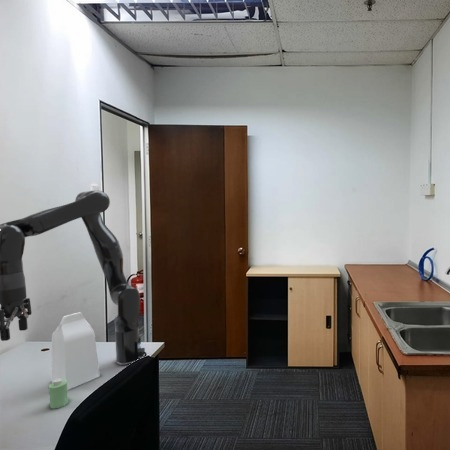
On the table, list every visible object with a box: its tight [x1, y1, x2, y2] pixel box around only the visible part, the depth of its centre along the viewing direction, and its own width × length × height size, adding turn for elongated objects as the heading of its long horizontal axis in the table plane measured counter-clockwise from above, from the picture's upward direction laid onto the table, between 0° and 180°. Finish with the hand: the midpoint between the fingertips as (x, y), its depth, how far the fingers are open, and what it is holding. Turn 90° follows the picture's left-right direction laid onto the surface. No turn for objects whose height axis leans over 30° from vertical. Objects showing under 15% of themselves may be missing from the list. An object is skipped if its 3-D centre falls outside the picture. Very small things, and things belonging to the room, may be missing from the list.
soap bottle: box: [48, 378, 69, 409], centre depth 115 cm, size 5×5×8 cm
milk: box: [51, 311, 101, 391], centre depth 130 cm, size 12×12×26 cm
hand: (15, 334), depth 110 cm, fingers open, 8 cm apart
